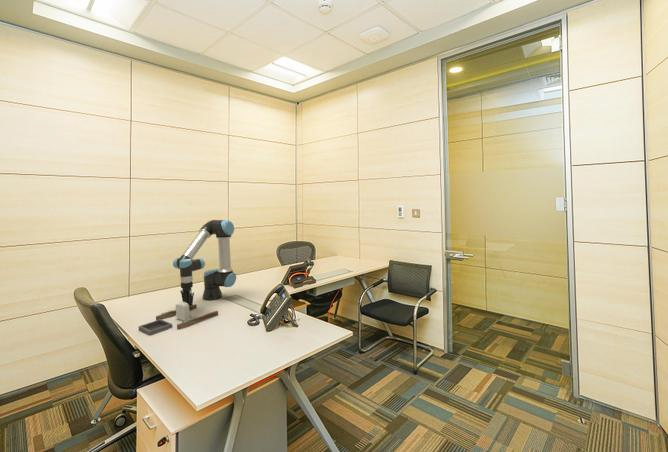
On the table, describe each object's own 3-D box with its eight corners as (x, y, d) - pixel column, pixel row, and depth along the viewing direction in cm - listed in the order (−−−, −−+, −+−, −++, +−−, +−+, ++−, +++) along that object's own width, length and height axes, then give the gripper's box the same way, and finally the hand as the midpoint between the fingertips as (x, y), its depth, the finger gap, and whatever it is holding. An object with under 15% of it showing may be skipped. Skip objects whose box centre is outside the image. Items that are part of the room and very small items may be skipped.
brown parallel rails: (155, 320, 220) (155, 315, 219) (195, 307, 244) (195, 303, 244) (178, 329, 204) (178, 324, 204) (218, 315, 229) (218, 310, 228)
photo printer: (175, 319, 222) (174, 301, 221) (180, 316, 226) (179, 299, 225) (185, 321, 218) (184, 303, 216) (190, 319, 221) (190, 301, 220)
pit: (138, 330, 204) (138, 326, 204) (160, 322, 216) (160, 319, 215) (150, 335, 196) (149, 331, 196) (172, 327, 208) (172, 323, 208)
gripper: (176, 281, 223) (177, 314, 225) (187, 284, 215) (188, 318, 218) (186, 279, 229) (187, 311, 231) (197, 281, 222) (198, 315, 224)
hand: (188, 314), depth 225 cm, fingers closed
